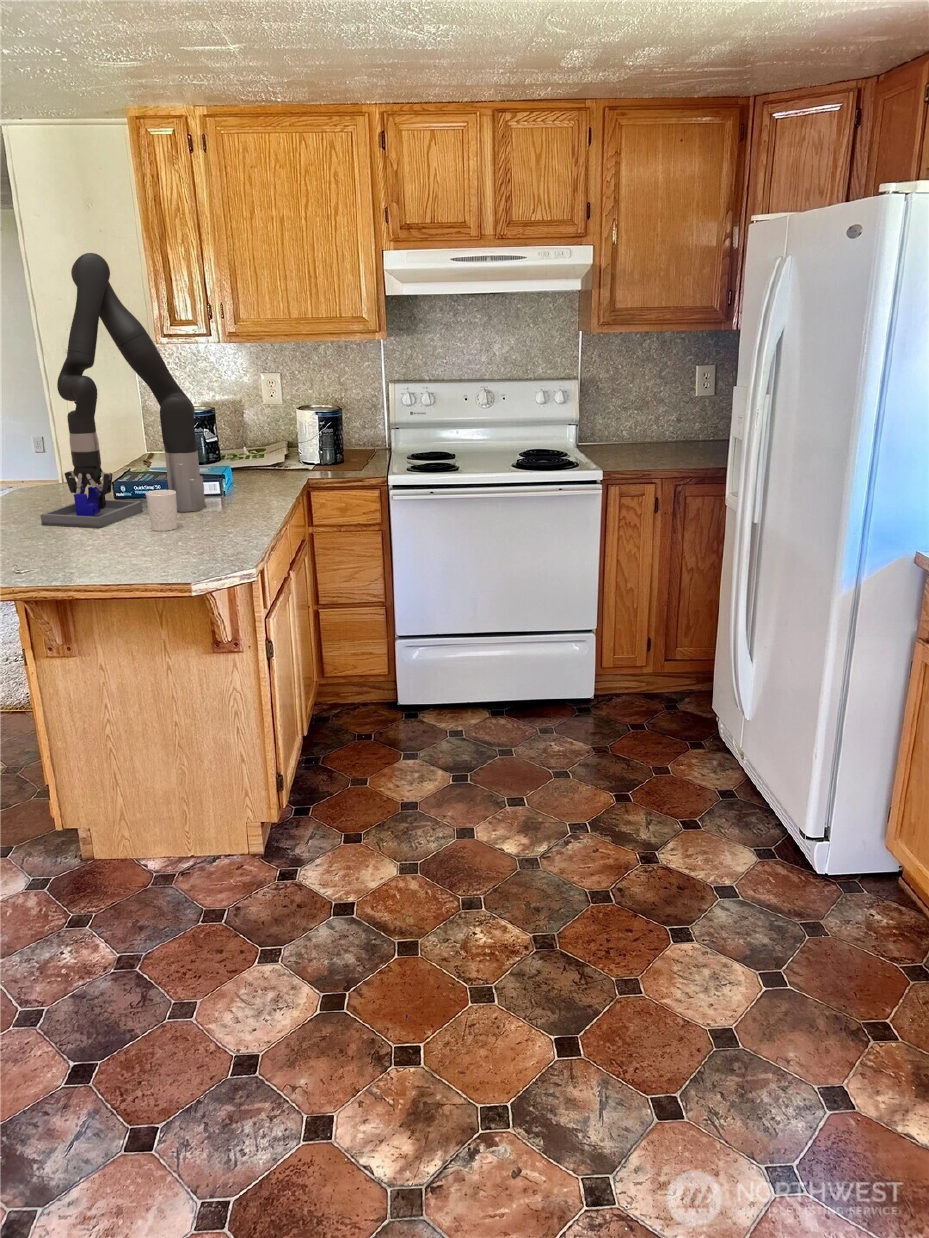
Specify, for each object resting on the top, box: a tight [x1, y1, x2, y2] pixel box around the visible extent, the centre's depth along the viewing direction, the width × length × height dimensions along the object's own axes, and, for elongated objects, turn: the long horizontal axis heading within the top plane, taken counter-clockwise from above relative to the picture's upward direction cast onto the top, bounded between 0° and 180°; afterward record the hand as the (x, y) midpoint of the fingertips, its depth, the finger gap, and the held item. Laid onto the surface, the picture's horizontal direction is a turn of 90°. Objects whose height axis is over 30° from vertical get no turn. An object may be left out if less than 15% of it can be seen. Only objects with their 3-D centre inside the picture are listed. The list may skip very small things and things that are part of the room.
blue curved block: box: [73, 486, 100, 516], centre depth 262 cm, size 12×4×6 cm, turn 1°
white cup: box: [145, 489, 178, 532], centre depth 251 cm, size 8×8×10 cm
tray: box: [40, 499, 144, 529], centre depth 264 cm, size 18×22×3 cm
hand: (92, 508), depth 263 cm, fingers closed on blue curved block, 5 cm apart
